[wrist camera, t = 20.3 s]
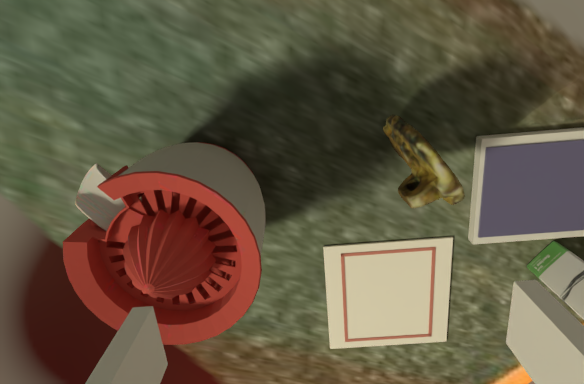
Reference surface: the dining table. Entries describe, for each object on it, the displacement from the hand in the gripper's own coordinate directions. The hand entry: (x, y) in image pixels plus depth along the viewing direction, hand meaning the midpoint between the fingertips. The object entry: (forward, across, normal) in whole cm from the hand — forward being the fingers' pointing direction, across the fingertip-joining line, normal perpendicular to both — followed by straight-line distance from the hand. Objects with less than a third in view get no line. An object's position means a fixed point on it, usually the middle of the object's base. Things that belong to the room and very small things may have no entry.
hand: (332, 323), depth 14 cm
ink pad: (+32, +26, -8) cm, 42 cm away
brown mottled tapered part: (+32, +10, -2) cm, 33 cm away
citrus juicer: (+32, -13, -5) cm, 35 cm away
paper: (+32, +9, -22) cm, 40 cm away
